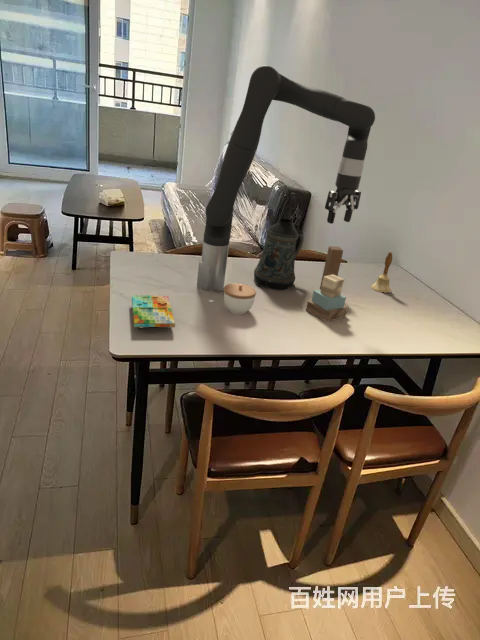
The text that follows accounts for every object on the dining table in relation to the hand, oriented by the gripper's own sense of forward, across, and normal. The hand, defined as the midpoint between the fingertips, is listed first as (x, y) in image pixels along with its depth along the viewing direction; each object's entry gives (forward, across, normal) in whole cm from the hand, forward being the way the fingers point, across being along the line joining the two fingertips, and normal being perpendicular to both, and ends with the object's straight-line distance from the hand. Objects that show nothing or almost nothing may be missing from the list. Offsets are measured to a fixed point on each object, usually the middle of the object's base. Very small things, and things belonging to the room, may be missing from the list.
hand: (338, 222), depth 160 cm
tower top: (+28, +3, +6) cm, 28 cm away
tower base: (+32, +2, +5) cm, 32 cm away
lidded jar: (+32, +31, -9) cm, 45 cm away
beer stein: (+32, -1, -25) cm, 40 cm away
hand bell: (+31, -39, -1) cm, 50 cm away
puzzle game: (+32, +60, -16) cm, 70 cm away
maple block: (+24, +3, +6) cm, 24 cm away
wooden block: (+31, -12, -6) cm, 34 cm away
